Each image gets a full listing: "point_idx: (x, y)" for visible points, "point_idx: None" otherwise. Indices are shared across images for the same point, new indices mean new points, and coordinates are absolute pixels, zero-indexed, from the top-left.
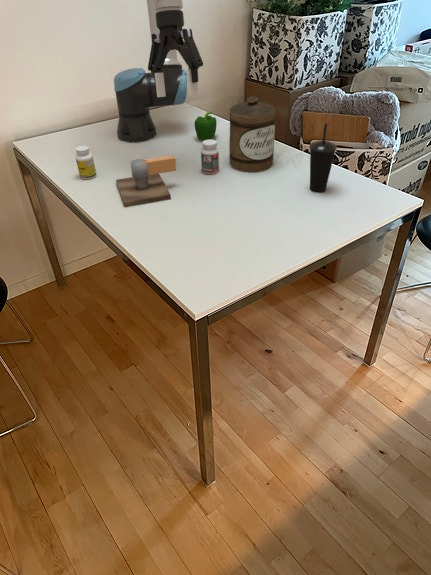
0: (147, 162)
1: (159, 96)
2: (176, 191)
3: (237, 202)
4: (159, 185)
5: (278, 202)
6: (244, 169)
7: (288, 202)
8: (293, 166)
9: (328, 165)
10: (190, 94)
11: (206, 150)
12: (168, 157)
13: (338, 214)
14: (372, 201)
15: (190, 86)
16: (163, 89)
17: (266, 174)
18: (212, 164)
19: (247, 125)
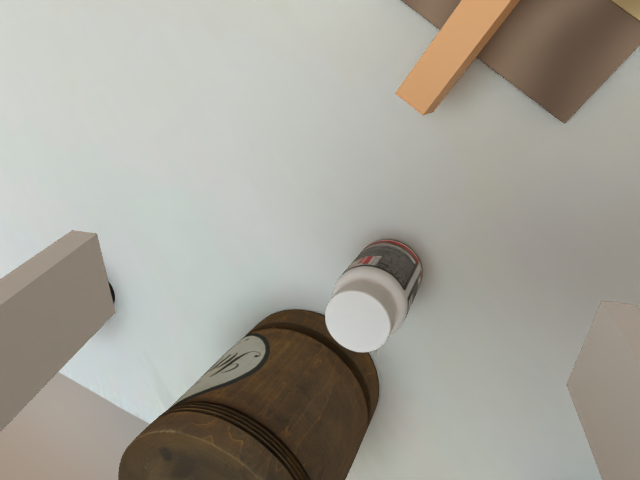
0: None
1: (600, 313)
2: (403, 55)
3: (191, 116)
4: None
5: (119, 180)
6: (285, 312)
7: (104, 193)
8: None
9: None
10: (72, 238)
11: (360, 281)
12: (433, 77)
13: (13, 198)
14: None
15: (4, 279)
16: (601, 433)
17: (230, 318)
18: (353, 261)
19: (185, 408)
